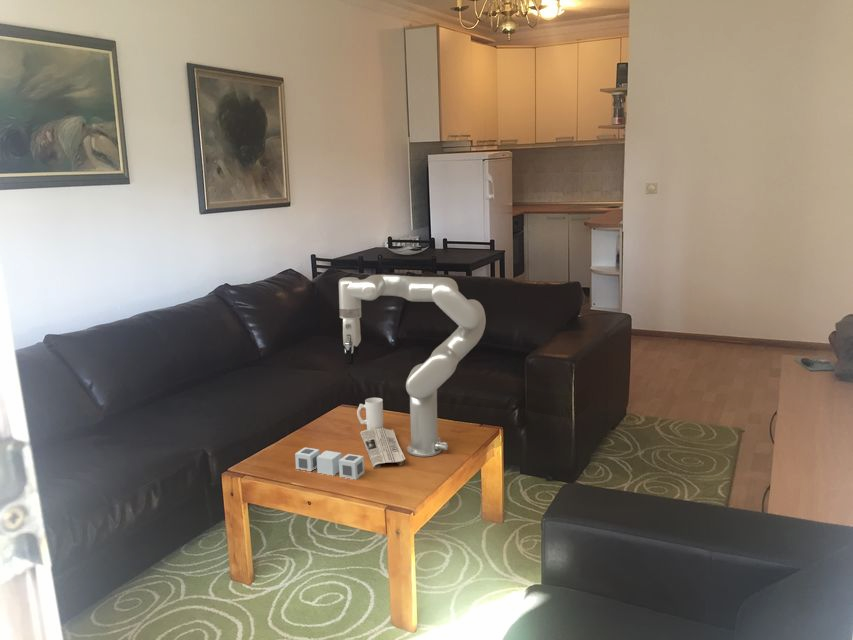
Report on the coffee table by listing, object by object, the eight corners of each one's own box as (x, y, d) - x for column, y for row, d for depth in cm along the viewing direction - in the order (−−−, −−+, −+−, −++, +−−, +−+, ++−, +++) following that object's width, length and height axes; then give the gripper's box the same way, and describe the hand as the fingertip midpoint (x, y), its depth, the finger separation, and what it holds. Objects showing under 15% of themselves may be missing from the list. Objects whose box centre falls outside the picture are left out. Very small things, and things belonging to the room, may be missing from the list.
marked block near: (364, 473, 245) (364, 455, 244) (355, 480, 240) (355, 462, 238) (348, 470, 248) (347, 453, 246) (339, 477, 242) (338, 460, 241)
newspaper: (360, 435, 281) (360, 427, 280) (392, 432, 283) (392, 423, 283) (374, 471, 247) (373, 462, 246) (410, 467, 250) (410, 458, 249)
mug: (383, 426, 289) (381, 397, 287) (384, 432, 282) (383, 402, 280) (357, 428, 288) (356, 398, 285) (358, 434, 281) (357, 404, 279)
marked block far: (321, 466, 252) (320, 449, 251) (311, 473, 246) (310, 455, 245) (305, 463, 254) (304, 446, 253) (295, 470, 249) (294, 453, 247)
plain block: (342, 469, 249) (341, 452, 247) (333, 476, 243) (332, 459, 242) (326, 467, 251) (325, 450, 250) (317, 473, 246) (316, 456, 244)
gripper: (357, 318, 247) (358, 367, 251) (364, 308, 264) (365, 354, 268) (335, 317, 248) (337, 366, 251) (343, 308, 265) (345, 354, 268)
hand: (351, 360), depth 260 cm, fingers open, 9 cm apart
